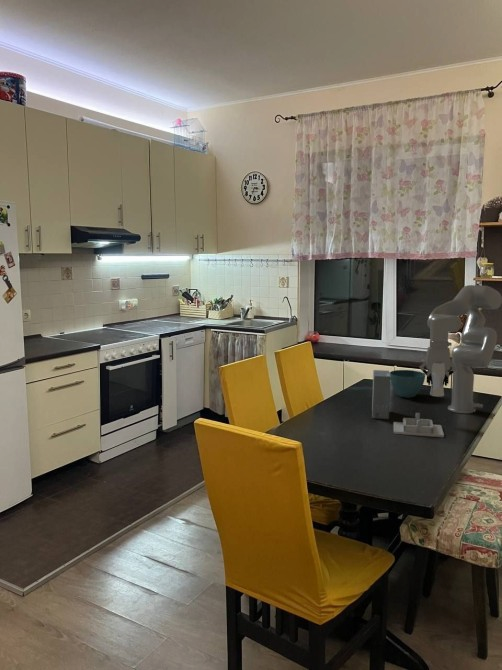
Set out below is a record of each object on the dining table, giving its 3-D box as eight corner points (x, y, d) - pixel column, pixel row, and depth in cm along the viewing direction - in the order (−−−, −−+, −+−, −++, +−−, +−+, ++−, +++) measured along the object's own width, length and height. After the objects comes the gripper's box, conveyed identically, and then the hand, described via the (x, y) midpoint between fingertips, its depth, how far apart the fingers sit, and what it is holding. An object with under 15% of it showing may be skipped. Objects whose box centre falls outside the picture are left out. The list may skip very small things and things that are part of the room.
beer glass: (446, 393, 248) (447, 360, 246) (444, 397, 242) (445, 363, 240) (429, 392, 251) (431, 359, 249) (427, 396, 245) (428, 362, 243)
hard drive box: (389, 419, 253) (390, 376, 250) (372, 418, 255) (373, 376, 252) (387, 410, 268) (389, 370, 266) (371, 409, 270) (372, 369, 267)
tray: (440, 427, 242) (441, 413, 241) (443, 437, 228) (444, 423, 228) (393, 424, 247) (393, 410, 246) (393, 433, 233) (394, 419, 232)
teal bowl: (428, 400, 288) (429, 377, 286) (393, 400, 288) (394, 376, 286) (418, 391, 306) (419, 369, 304) (385, 391, 306) (386, 369, 304)
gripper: (458, 343, 245) (457, 383, 248) (417, 342, 249) (416, 382, 252) (460, 346, 238) (459, 387, 240) (418, 345, 242) (417, 386, 245)
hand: (437, 384), depth 246 cm, fingers closed on beer glass, 6 cm apart
